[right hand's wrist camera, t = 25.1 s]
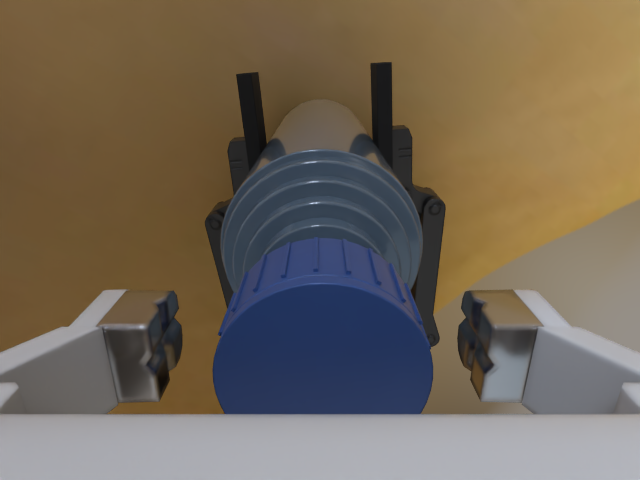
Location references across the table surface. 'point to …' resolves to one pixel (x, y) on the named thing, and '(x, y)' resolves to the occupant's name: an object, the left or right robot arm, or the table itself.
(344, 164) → the bottle
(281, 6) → the table surface
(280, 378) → the cap
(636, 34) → the table surface
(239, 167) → the left robot arm
